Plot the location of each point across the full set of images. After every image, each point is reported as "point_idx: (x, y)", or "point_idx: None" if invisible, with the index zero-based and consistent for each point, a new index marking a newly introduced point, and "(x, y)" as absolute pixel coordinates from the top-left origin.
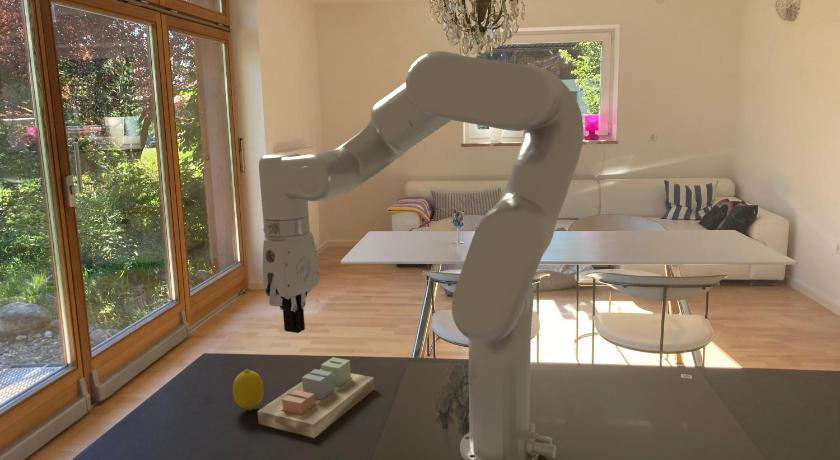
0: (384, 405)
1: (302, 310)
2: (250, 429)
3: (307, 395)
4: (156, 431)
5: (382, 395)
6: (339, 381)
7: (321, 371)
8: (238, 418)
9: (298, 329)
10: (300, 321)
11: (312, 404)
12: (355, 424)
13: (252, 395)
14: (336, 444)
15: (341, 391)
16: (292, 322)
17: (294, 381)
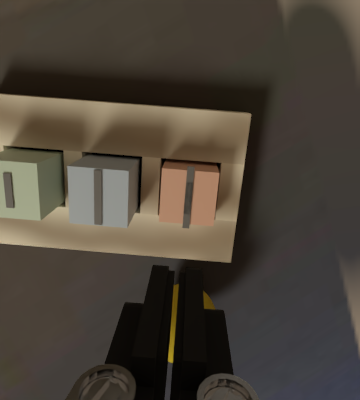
0: (54, 25)
1: (148, 346)
2: (250, 251)
3: (175, 179)
4: (298, 384)
5: (12, 56)
6: (52, 156)
7: (75, 198)
8: (219, 294)
9: (201, 280)
10: (184, 300)
11: (173, 163)
12: (162, 51)
13: (204, 299)
14: (255, 49)
15: (80, 135)
16: (225, 331)
17: (47, 280)
